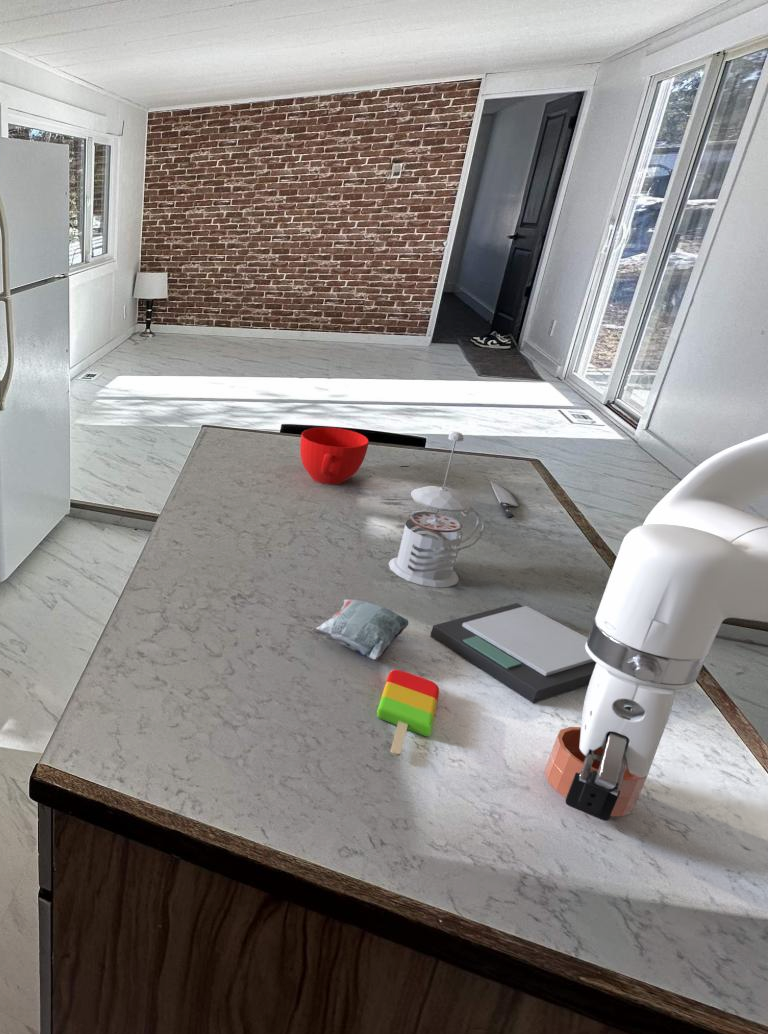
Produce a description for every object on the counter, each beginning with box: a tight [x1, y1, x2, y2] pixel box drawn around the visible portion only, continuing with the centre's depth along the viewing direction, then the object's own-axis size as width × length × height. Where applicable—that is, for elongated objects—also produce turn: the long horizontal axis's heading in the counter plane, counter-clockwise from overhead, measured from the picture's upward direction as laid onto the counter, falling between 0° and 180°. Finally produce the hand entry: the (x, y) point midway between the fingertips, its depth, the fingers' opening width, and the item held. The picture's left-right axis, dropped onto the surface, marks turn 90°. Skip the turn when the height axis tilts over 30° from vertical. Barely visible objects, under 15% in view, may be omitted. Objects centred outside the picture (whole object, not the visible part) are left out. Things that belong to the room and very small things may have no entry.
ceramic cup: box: [299, 426, 369, 485], centre depth 140 cm, size 13×17×10 cm
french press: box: [388, 431, 485, 588], centre depth 103 cm, size 10×12×25 cm
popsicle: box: [376, 669, 440, 757], centre depth 78 cm, size 6×15×2 cm, turn 140°
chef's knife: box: [490, 481, 519, 519], centre depth 129 cm, size 19×1×3 cm
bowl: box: [544, 726, 649, 817], centre depth 67 cm, size 7×7×6 cm
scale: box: [430, 602, 596, 704], centre depth 87 cm, size 16×14×3 cm
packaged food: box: [311, 598, 409, 661], centre depth 92 cm, size 9×12×5 cm
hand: (588, 785), depth 67 cm, fingers closed on bowl, 7 cm apart
